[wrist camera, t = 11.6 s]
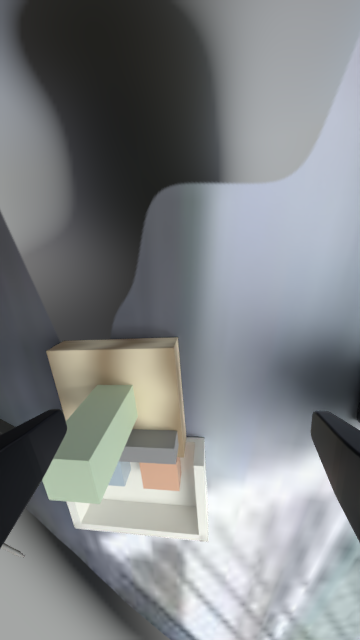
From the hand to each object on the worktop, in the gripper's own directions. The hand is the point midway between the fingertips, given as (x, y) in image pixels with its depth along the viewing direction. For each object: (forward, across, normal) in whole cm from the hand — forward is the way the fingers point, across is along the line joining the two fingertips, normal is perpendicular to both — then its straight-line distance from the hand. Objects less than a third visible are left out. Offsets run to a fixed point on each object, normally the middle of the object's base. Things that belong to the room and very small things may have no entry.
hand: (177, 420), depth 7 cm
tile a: (+12, +5, +16) cm, 21 cm away
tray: (+12, +8, +19) cm, 24 cm away
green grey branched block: (+10, +8, +8) cm, 15 cm away
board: (+12, +8, +7) cm, 16 cm away
